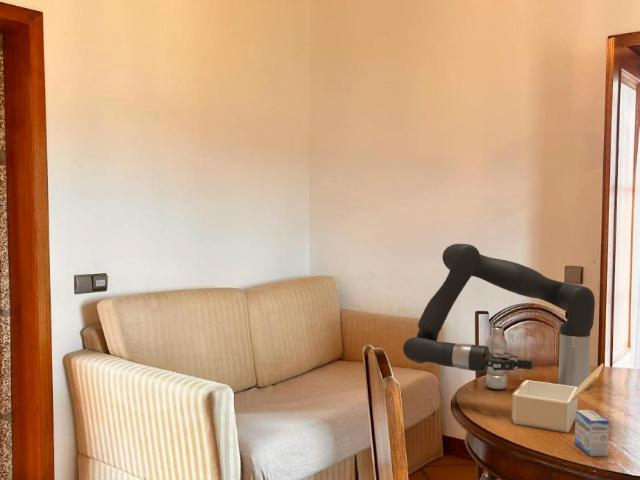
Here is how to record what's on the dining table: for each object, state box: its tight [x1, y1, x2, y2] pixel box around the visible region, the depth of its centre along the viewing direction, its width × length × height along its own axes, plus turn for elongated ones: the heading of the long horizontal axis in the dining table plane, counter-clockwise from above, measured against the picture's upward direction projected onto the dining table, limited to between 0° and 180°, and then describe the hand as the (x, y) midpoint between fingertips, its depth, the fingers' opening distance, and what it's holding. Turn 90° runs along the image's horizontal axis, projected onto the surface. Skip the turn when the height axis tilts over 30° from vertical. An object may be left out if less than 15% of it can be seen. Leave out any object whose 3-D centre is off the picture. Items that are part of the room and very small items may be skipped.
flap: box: [572, 362, 604, 401], centre depth 169 cm, size 15×9×1 cm
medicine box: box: [574, 409, 610, 457], centre depth 153 cm, size 8×4×9 cm, turn 5°
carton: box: [511, 379, 579, 433], centre depth 175 cm, size 17×15×8 cm
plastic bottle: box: [485, 325, 508, 390], centre depth 203 cm, size 6×7×20 cm
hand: (532, 365), depth 176 cm, fingers closed
